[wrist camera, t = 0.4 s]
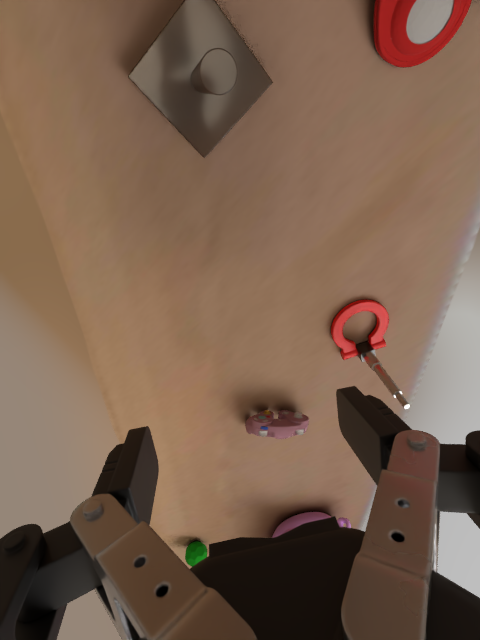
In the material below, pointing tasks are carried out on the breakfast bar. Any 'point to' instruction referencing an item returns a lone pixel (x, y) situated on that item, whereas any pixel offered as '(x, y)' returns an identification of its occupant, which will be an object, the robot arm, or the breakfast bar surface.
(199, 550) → the polyhedron
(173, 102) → the brown peg stand
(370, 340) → the tow hook
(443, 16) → the tracker holder
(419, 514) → the robot arm
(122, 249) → the breakfast bar surface
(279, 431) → the video game controller
